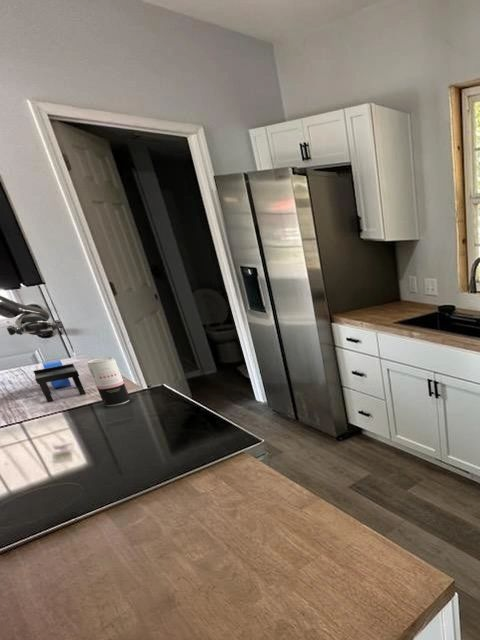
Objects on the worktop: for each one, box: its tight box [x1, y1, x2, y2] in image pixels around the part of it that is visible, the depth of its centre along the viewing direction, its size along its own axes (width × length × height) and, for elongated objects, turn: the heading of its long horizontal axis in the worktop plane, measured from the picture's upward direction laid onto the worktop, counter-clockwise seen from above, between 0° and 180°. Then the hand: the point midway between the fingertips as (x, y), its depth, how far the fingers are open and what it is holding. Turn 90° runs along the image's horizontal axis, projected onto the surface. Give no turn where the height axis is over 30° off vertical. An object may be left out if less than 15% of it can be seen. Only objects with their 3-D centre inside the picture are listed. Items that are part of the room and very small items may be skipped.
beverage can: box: [87, 356, 131, 407], centre depth 135 cm, size 7×7×15 cm
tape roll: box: [41, 359, 72, 390], centre depth 153 cm, size 5×10×10 cm, turn 50°
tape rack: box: [33, 363, 87, 403], centre depth 145 cm, size 14×10×9 cm
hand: (37, 329), depth 154 cm, fingers open, 8 cm apart
